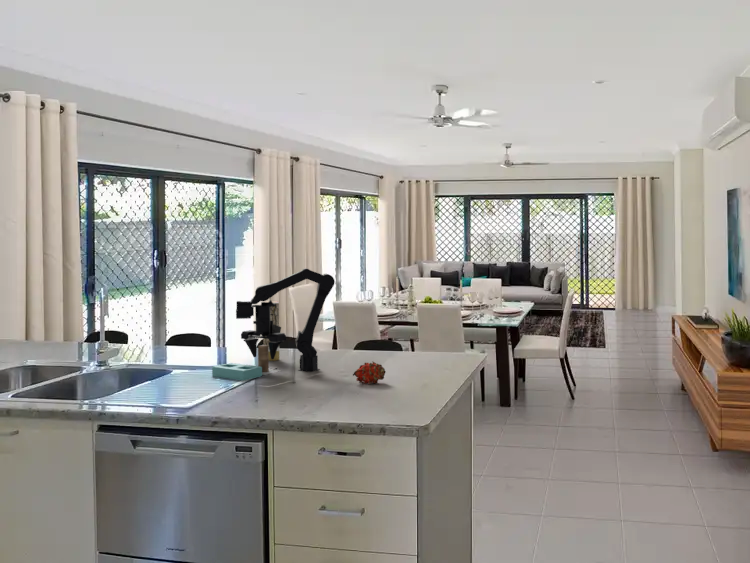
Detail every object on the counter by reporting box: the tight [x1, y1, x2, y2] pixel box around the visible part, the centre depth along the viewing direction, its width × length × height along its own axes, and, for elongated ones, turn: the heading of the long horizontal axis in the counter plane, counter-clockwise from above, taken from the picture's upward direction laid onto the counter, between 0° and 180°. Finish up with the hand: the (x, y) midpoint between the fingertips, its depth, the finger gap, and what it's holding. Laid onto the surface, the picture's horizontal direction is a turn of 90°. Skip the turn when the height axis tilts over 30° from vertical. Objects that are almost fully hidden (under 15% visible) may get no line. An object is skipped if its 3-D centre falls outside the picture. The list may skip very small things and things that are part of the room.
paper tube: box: [262, 300, 280, 362], centre depth 321 cm, size 7×7×25 cm
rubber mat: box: [262, 368, 282, 376], centre depth 292 cm, size 10×10×1 cm
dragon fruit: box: [352, 361, 387, 385], centre depth 270 cm, size 8×8×12 cm
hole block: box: [211, 362, 263, 381], centre depth 283 cm, size 16×10×4 cm, turn 57°
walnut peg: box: [257, 344, 270, 372], centre depth 292 cm, size 4×4×10 cm
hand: (263, 358), depth 292 cm, fingers open, 9 cm apart
